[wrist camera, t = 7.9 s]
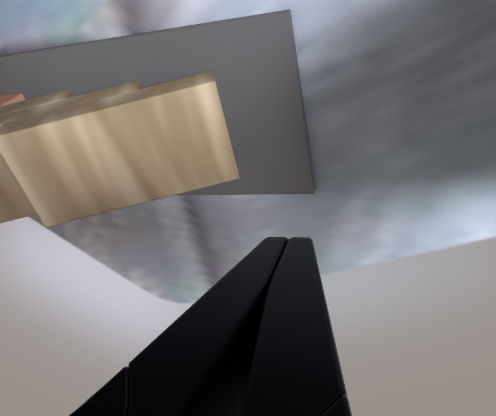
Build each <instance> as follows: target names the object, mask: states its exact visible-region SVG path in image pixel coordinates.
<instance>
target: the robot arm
mask: <svg viewBox="0 0 496 416" xmlns="http://www.w3.org/2000/svg"><path fill="white" fill-rule="evenodd" d="M69 416H352V414H351V410H350V406H349V401H348V398H347V393H346V389H345V384H344V380H343V375H342V371H341V367H340V362H339V357H338V353H337V348H336V344H335V339H334V335H333V331H332V326H331V322H330V317H329V313H328V309H327V304H326V299H325V295H324V290H323V286H322V282H321V277H320V272H319V268H318V263H317V259H316V254H315V250H314V245H313V241H312V239H311V238H303V237H293V238H290V239H288V238H286V237H268V238H266V239H264V240H263V241H262V242H261V243H260V244H259V245H258V246H256V247H255V248H254V249H253V250H252V251H251V252H250V253H249V254H248V255H247V256H246V257H244V258H243V259H242V260H241V261H240V262H239V263H238V264H237V265H236V266H235V267H234V268H232V269H231V270H230V271H229V272H228V273H227V274H226V275H225V276H224V277H223V278H221V279H220V280H219V281H218V282H217V283H216V284H215V285H214V286H213V287H212V288H211V289H209V290H208V291H207V292H206V293H205V294H204V295H203V296H202V297H201V298H200V299H198V300H197V301H196V302H195V303H194V304H193V305H192V306H191V307H190V308H189V309H188V310H186V311H185V312H184V313H183V314H182V315H181V316H180V317H179V318H178V319H177V320H176V321H174V323H172V324H171V325H170V326H169V327H168V328H167V329H166V330H165V331H164V332H163V333H161V334H160V335H159V336H158V337H157V338H156V339H155V340H154V341H153V342H151V343H150V344H149V345H148V346H147V347H146V348H145V349H144V350H143V351H142V352H141V353H139V354H138V355H137V356H136V357H135V358H134V359H133V360H132V361H131V362H130V363H129V366H128V367H124V368H123V369H122V370H121V371H120V372H118V373H117V374H116V375H115V376H114V377H113V378H112V379H111V380H110V381H109V382H108V383H106V384H105V385H104V386H103V387H102V388H101V389H99V391H97V392H96V393H95V394H94V395H93V396H92V397H90V398H89V399H88V400H87V401H86V402H85V403H84V404H82V405H81V406H80V407H79V408H78V409H77V410H75V411H74V412H73V413H72V414H70V415H69Z"/></svg>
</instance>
